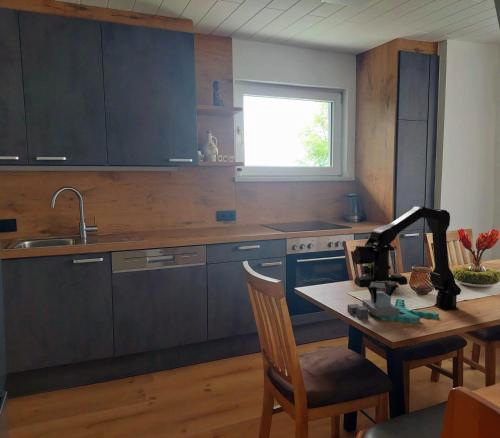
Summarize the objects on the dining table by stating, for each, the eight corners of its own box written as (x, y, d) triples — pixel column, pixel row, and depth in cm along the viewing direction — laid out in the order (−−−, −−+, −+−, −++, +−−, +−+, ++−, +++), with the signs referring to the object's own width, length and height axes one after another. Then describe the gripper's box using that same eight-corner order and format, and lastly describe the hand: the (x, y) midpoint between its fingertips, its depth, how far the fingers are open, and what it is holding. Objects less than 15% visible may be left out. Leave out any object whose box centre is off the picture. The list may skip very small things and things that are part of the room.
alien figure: (400, 303, 164) (360, 310, 157) (400, 298, 164) (360, 304, 157) (438, 319, 145) (395, 327, 138) (439, 313, 145) (395, 321, 138)
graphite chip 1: (357, 311, 154) (357, 303, 154) (361, 314, 150) (361, 307, 150) (347, 312, 154) (347, 304, 154) (351, 315, 150) (351, 307, 150)
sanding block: (383, 303, 156) (384, 288, 156) (399, 314, 145) (399, 298, 144) (362, 305, 155) (362, 290, 154) (376, 316, 143) (376, 300, 143)
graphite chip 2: (363, 305, 148) (356, 306, 148) (368, 309, 144) (360, 309, 144) (363, 316, 149) (355, 316, 148) (368, 319, 145) (360, 320, 144)
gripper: (393, 256, 157) (392, 294, 159) (348, 259, 155) (348, 298, 156) (408, 262, 146) (407, 303, 148) (360, 265, 144) (360, 307, 145)
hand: (380, 302), depth 150 cm, fingers closed on sanding block, 4 cm apart
